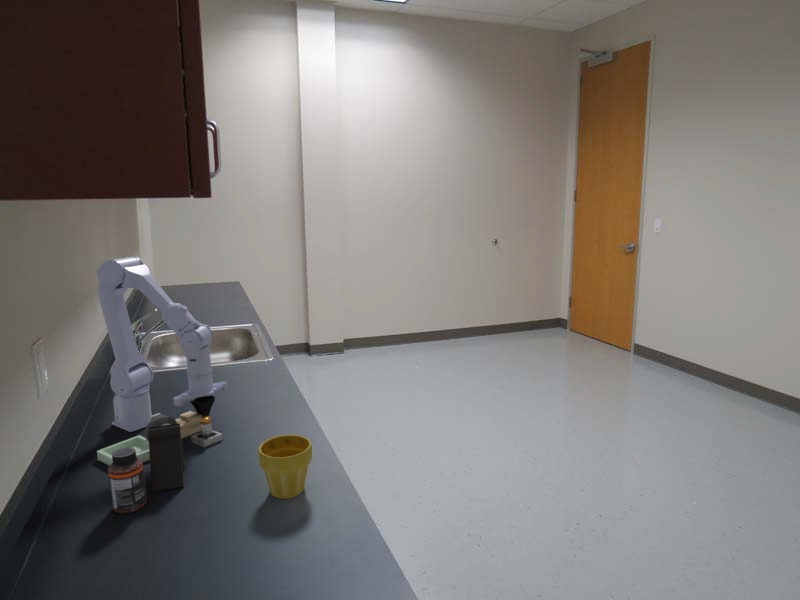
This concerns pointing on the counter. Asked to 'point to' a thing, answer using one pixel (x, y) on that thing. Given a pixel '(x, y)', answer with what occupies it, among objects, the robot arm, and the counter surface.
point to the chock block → (189, 423)
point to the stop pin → (206, 427)
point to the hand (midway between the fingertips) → (204, 423)
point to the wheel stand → (159, 422)
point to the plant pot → (285, 464)
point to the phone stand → (166, 457)
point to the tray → (136, 442)
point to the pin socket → (207, 442)
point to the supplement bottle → (127, 481)
